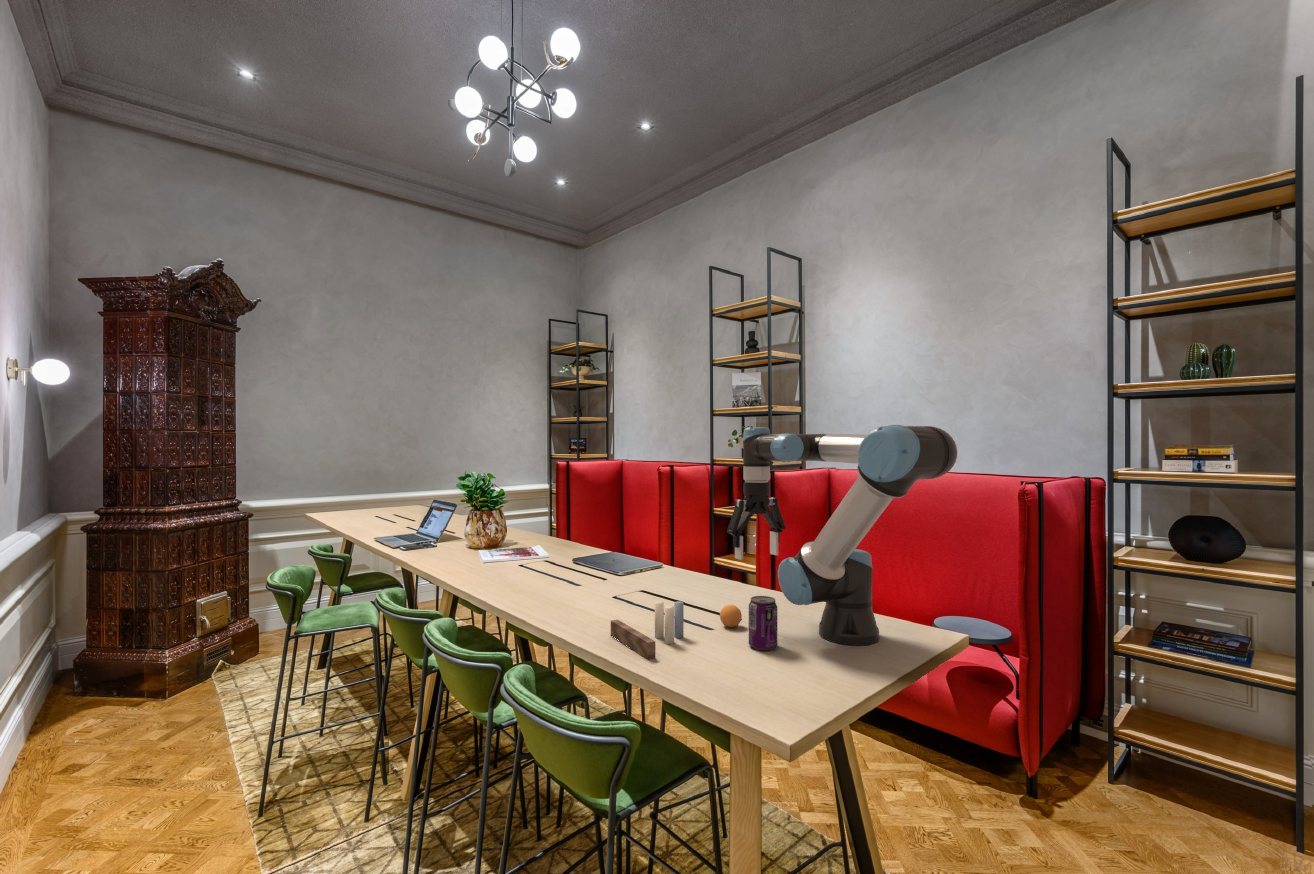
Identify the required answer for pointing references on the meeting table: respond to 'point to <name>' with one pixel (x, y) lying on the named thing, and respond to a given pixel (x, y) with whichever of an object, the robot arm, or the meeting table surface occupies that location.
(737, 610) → the ball
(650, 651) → the walnut rail
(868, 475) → the robot arm
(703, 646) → the meeting table surface
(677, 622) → the front pin
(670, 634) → the rear pin left
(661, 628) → the rear pin right
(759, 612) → the beverage can
